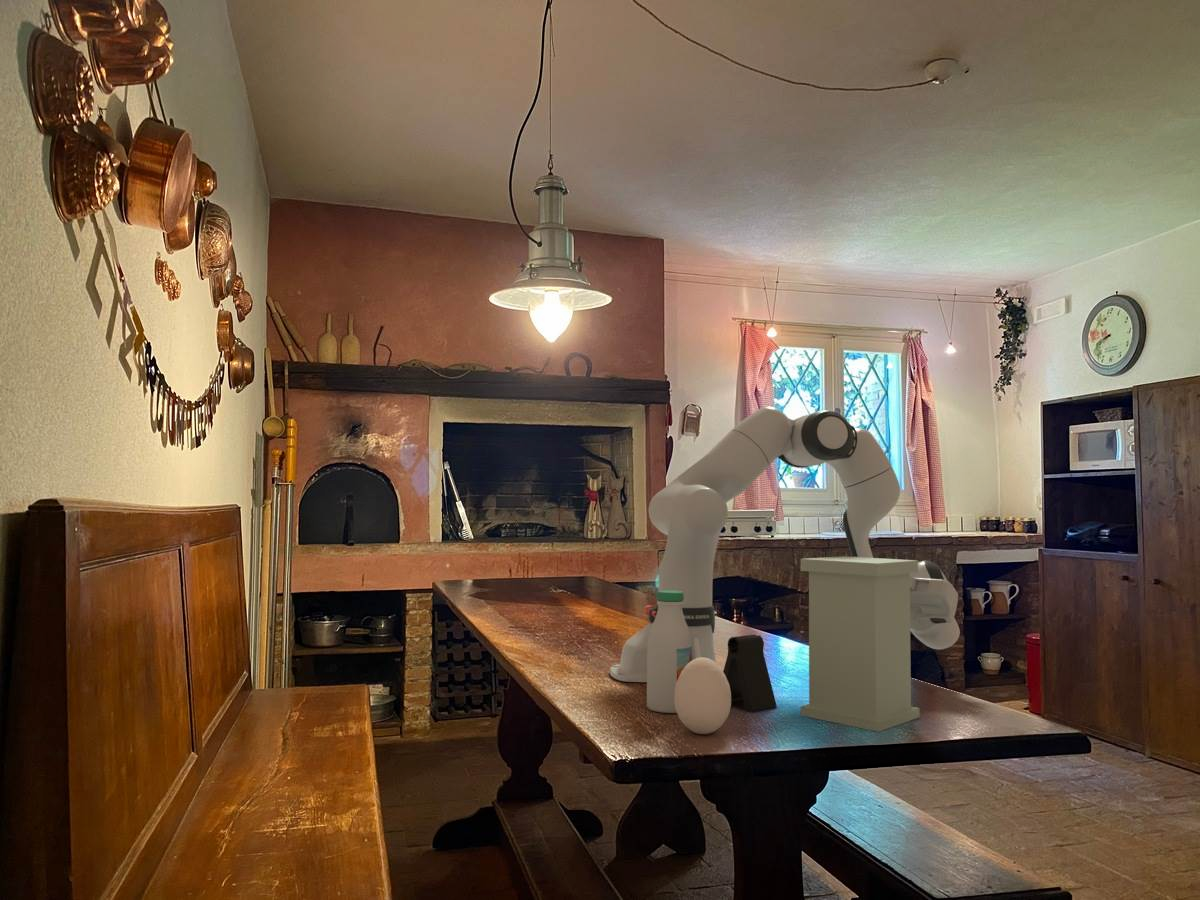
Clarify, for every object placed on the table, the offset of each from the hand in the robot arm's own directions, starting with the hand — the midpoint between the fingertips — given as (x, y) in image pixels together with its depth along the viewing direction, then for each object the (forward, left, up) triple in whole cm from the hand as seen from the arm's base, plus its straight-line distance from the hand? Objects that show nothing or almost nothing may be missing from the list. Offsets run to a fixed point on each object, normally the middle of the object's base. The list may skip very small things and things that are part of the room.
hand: (885, 573), depth 168 cm
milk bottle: (-46, -14, -22) cm, 53 cm away
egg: (-44, -30, -22) cm, 58 cm away
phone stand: (-32, -12, -22) cm, 41 cm away
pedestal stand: (-15, -21, -22) cm, 34 cm away
